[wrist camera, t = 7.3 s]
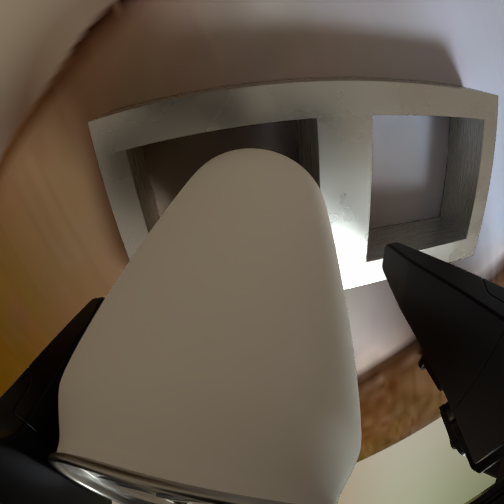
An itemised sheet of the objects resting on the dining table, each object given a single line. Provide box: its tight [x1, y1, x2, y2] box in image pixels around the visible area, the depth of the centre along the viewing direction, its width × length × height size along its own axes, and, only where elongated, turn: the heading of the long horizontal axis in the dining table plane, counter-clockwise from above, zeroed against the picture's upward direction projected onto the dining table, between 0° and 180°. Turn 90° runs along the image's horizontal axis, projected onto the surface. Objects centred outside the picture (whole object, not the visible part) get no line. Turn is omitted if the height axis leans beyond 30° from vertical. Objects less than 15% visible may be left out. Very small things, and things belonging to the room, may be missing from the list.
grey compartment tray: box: [88, 78, 498, 289], centre depth 15 cm, size 20×10×3 cm, turn 97°
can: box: [48, 148, 361, 504], centre depth 9 cm, size 6×6×12 cm
